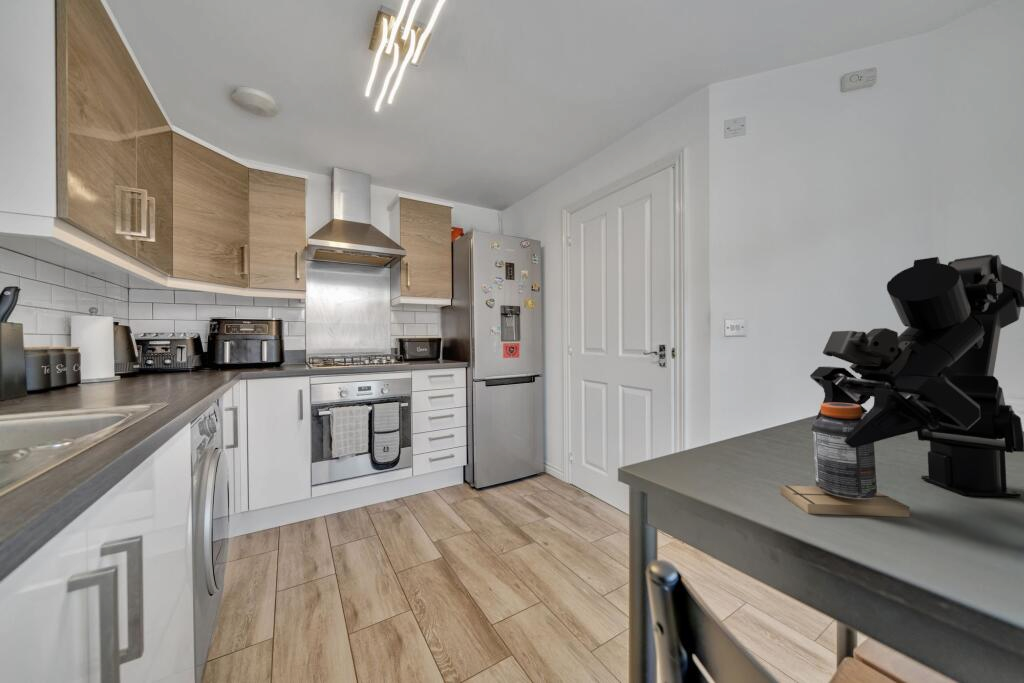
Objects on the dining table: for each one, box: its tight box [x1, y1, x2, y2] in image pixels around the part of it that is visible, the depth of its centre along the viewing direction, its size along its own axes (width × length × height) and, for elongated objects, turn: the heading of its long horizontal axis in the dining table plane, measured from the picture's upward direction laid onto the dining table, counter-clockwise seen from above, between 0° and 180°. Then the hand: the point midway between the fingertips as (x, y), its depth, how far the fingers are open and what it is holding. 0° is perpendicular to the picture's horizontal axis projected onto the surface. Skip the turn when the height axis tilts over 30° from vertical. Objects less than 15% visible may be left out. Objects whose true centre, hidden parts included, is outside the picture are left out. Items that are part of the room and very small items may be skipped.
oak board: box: [779, 485, 911, 518], centre depth 48 cm, size 11×6×1 cm, turn 81°
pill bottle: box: [811, 402, 878, 499], centre depth 48 cm, size 6×6×11 cm
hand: (830, 438), depth 49 cm, fingers closed on pill bottle, 6 cm apart
